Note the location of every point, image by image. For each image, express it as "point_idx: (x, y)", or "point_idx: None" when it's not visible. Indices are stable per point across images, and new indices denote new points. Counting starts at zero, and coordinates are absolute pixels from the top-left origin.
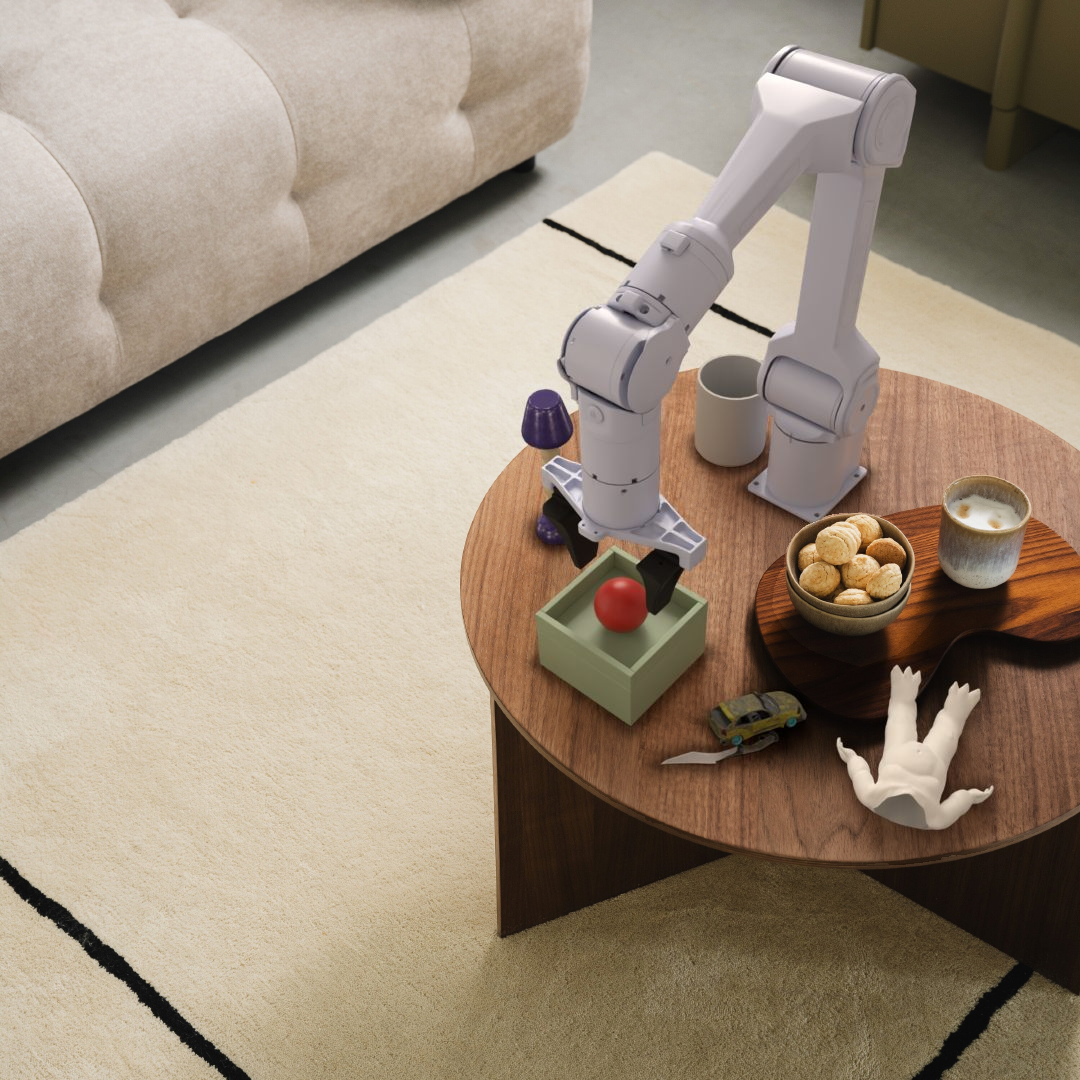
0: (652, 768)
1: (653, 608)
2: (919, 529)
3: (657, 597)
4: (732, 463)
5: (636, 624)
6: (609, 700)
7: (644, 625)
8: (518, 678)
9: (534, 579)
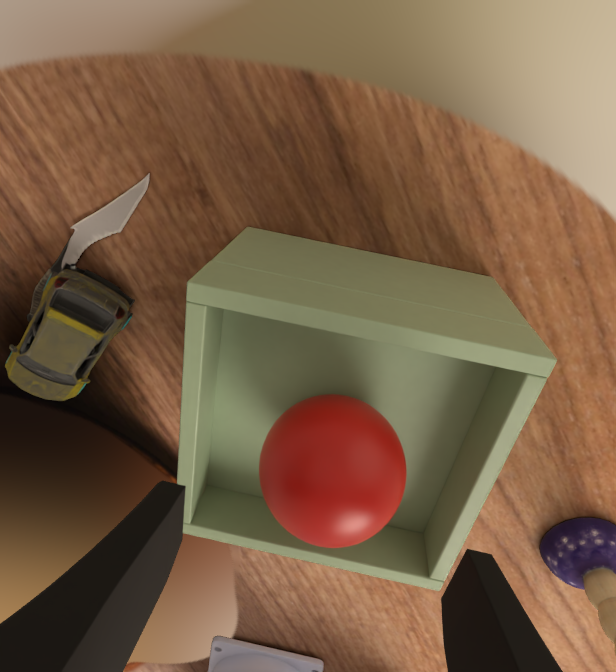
0: (157, 155)
1: (135, 510)
2: None
3: (59, 577)
4: None
5: (269, 431)
6: (294, 247)
7: None
8: (526, 221)
9: (587, 446)
